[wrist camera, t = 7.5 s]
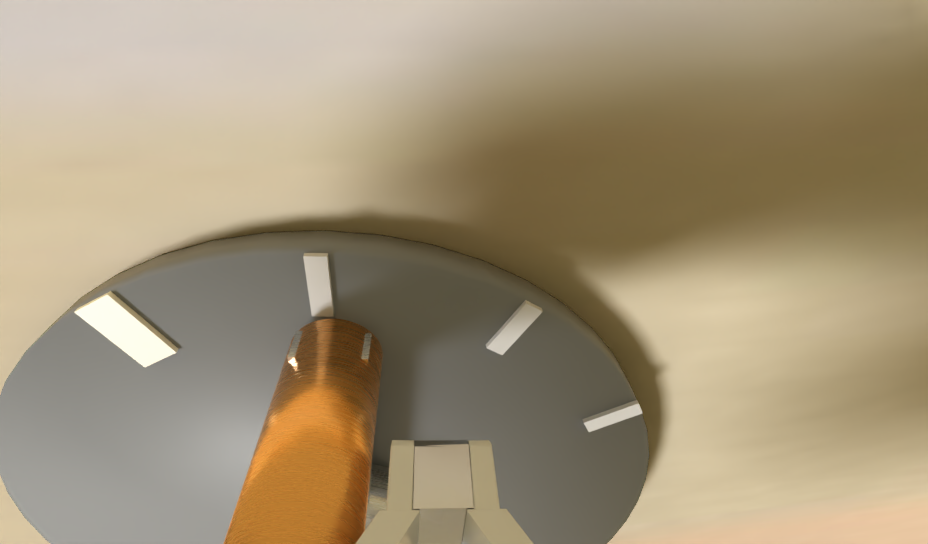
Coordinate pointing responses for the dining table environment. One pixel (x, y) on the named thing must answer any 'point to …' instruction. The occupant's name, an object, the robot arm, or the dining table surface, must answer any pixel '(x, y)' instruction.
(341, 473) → the dial
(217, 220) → the dining table surface
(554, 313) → the dial plate
